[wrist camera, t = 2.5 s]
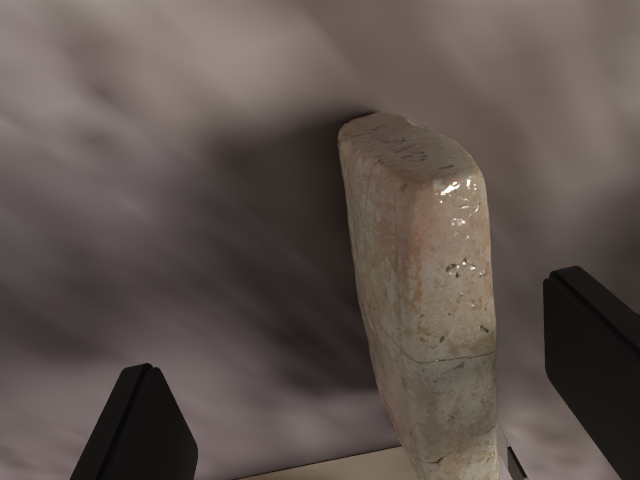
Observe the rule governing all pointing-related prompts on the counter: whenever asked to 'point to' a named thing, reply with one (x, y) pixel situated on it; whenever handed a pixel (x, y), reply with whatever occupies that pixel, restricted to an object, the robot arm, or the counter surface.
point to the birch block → (352, 468)
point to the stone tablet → (426, 293)
